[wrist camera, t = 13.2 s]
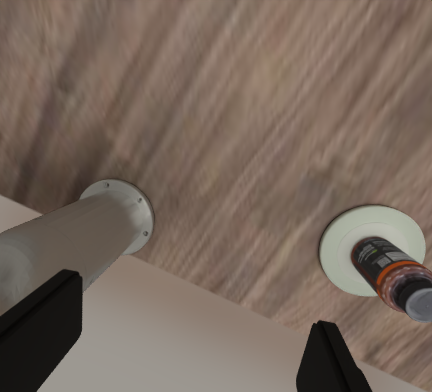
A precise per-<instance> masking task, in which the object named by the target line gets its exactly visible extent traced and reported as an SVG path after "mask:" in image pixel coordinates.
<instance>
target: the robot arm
mask: <svg viewBox="0 0 432 392" xmlns="http://www.w3.org/2000/svg"><path fill="white" fill-rule="evenodd" d="M108 184H109V185H108ZM140 198H141V199H142V200H141V199H140ZM154 223H155V220H154V213H153V209H152V206H151V204H150V202H149V200H148V199H147V197H146V196H145V195H144V194H143V193H142V192H141V191H140V190H139V189H138V188H137V187H135V186H134V185H132V184H130V183H128V182H126V181H123V180H119V179H106V180H101V181H98V182H96V183H94V184H92V185H90V186H89V187H88V188H86V189H85V190H84V192H83V193H82V194H81V196H80V198H79V200H78V201H76V202H74V203H71V204H69V205H67V206H64V207H62V208H59V209H57V210H54V211H52V212H50V213H47V214H45V215H42V216H40V217H38V218H35V219H33V220H30V221H28V222H25V223H23V224H20V225H18V226H16V227H13V228H11V229H8V230H6V231H4V232H2V233H1V234H0V392H37V390H38V389H39V388H40V386H41V385H42V384H43V383H44V382H45V380H46V379H47V378H48V377H49V375H50V374H51V372H53V370H54V369H55V368H56V366H57V365H58V364H59V363H60V361H61V360H62V359H63V358H64V356H65V355H66V354H67V353H68V351H69V350H70V349H71V348H72V346H73V345H74V344H75V343H76V341H77V340H78V338H79V337H80V335H81V332H82V295H83V294H82V293H83V292H84V291H85V290H86V289H87V288H88V287H89V286H90V285H91V284H92V283H93V282H94V281H95V280H96V279H97V278H98V277H99V276H100V275H101V274H102V273H103V272H104V271H105V270H106V269H107V268H108V267H109V266H110V265H111V264H112V263H113V262H114V261H115V260H116V259H117V258H118V257H119V256H120V255H128V254H131V253H134V252H136V251H138V250H140V249H141V248H142V247H143V246H144V245H145V244H146V243H147V242H148V240H149V239H150V237H151V235H152V233H153V230H154ZM147 232H148V233H147ZM296 387H297V392H372V390H371V388H370V386H369V384H368V382H367V380H366V378H365V376H364V374H363V373H362V371H361V370H360V369H359V368H358V367H357V366H356V364H355V362H354V360H353V358H352V356H351V354H350V351H349V349H348V347H347V345H346V343H345V341H344V339H343V337H342V335H341V333H340V331H339V329H338V327H337V325H336V324H335V323H331V322H326V321H321V320H319V321H318V322H317V324H316V323H313V325H312V328H311V331H310V334H309V337H308V341H307V344H306V348H305V351H304V354H303V357H302V360H301V364H300V367H299V370H298V374H297V378H296Z"/></svg>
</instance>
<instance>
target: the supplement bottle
mask: <svg viewBox="0 0 432 392" xmlns="http://www.w3.org/2000/svg"><path fill="white" fill-rule="evenodd" d="M351 261H352V264H353V266H354V267H355V269H356V270H357V271H358V272H359V273H360V275H361V276H362V277H363V278H364V279H365V280H366V282H367V283H368V284H369V285H370V286H371V288H372V289H373V290H374V291H375V292H376V293H377V294H378V296H379V297H380V298H381V299H382V300H383V301H384V302H385V303H386V304H387V305H388V306H389V307H390V308H392V309H394V310H396V311H399V312H403V313H406V314H407V315H408V316H409V317H410V318H412V319H413V320H415V321H418V322H432V272H431V271H430V270H428V269H427V268H426V267H424V266H423V265H422V264H420V263H419V262H417V261H416V260H415V259H413V258H412V257H410V256H409V255H408V254H406V253H405V252H403V251H402V250H401V249H399V248H398V247H396V246H395V245H394V244H392V243H391V242H389V241H388V240H386V239H384V238H381V237H368V238H365V239H363V240H361V241H359V242H358V243H357V244H356V245H355V246H354V248H353V250H352V253H351Z"/></svg>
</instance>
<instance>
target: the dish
mask: <svg viewBox="0 0 432 392" xmlns="http://www.w3.org/2000/svg"><path fill="white" fill-rule="evenodd" d="M368 237H381V238H384V239H386V240H388V241H389V242H391V243H392V244H394V245H395V246H396V247H398V248H399V249H401V250H402V251H403V252H405V253H406V254H408V255H409V256H410V257H412V258H413V259H415V260H416V261H417V262H419V263H420V264H422V263H423V260H424V256H425V239H424V236H423V233H422V231H421V229H420V228H419V226H418V225H417V224H416V222H415V221H414V220H413V219H411V218H410V217H409V216H407V215H406V214H404V213H402V212H400V211H398V210H396V209H393V208H391V207H387V206H383V205H365V206H360V207H356V208H353V209H351V210H348V211H346V212H344V213H343V214H341V215H340V216H338V217H337V218H336V219H335V220H333V221H332V222H331V224H330V225H329V226H328V227H327V229H326V230H325V232H324V234H323V236H322V238H321V241H320V245H319V259H320V263H321V265H322V268H323V270H324V271H325V273H326V275H327V276H328V278H329V279H330V280H331V282H333V283H334V284H335V285H336V286H337V287H339V288H340V289H342V290H344V291H346V292H348V293H351V294H354V295H359V296H378V294H377V293H376V292H375V291H374V290H373V289H372V288H371V286H370V285H369V284H368V283H367V282H366V280H365V279H364V278H363V277H362V276H361V275H360V273H359V272H358V271H357V270H356V269H355V267H354V266H353V264H352V261H351V253H352V250H353V248H354V246H355V245H356V244H357V243H358V242H359V241H361V240H363V239H365V238H368Z"/></svg>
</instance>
